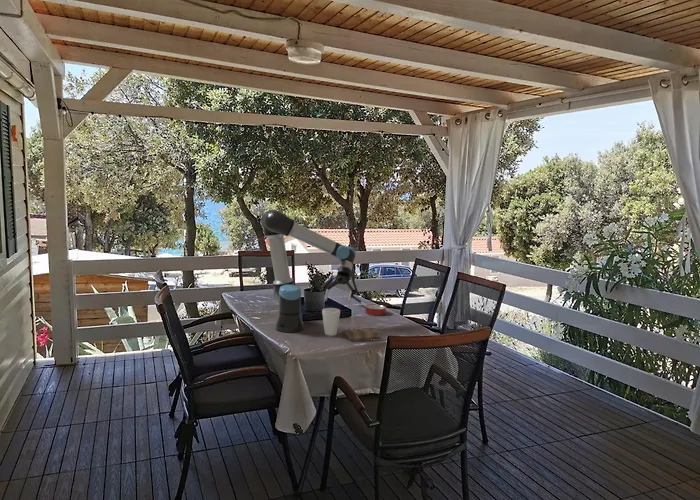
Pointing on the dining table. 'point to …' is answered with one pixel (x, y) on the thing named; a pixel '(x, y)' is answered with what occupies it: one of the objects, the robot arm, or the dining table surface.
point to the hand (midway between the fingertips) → (337, 301)
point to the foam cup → (330, 320)
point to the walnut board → (361, 334)
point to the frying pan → (373, 308)
